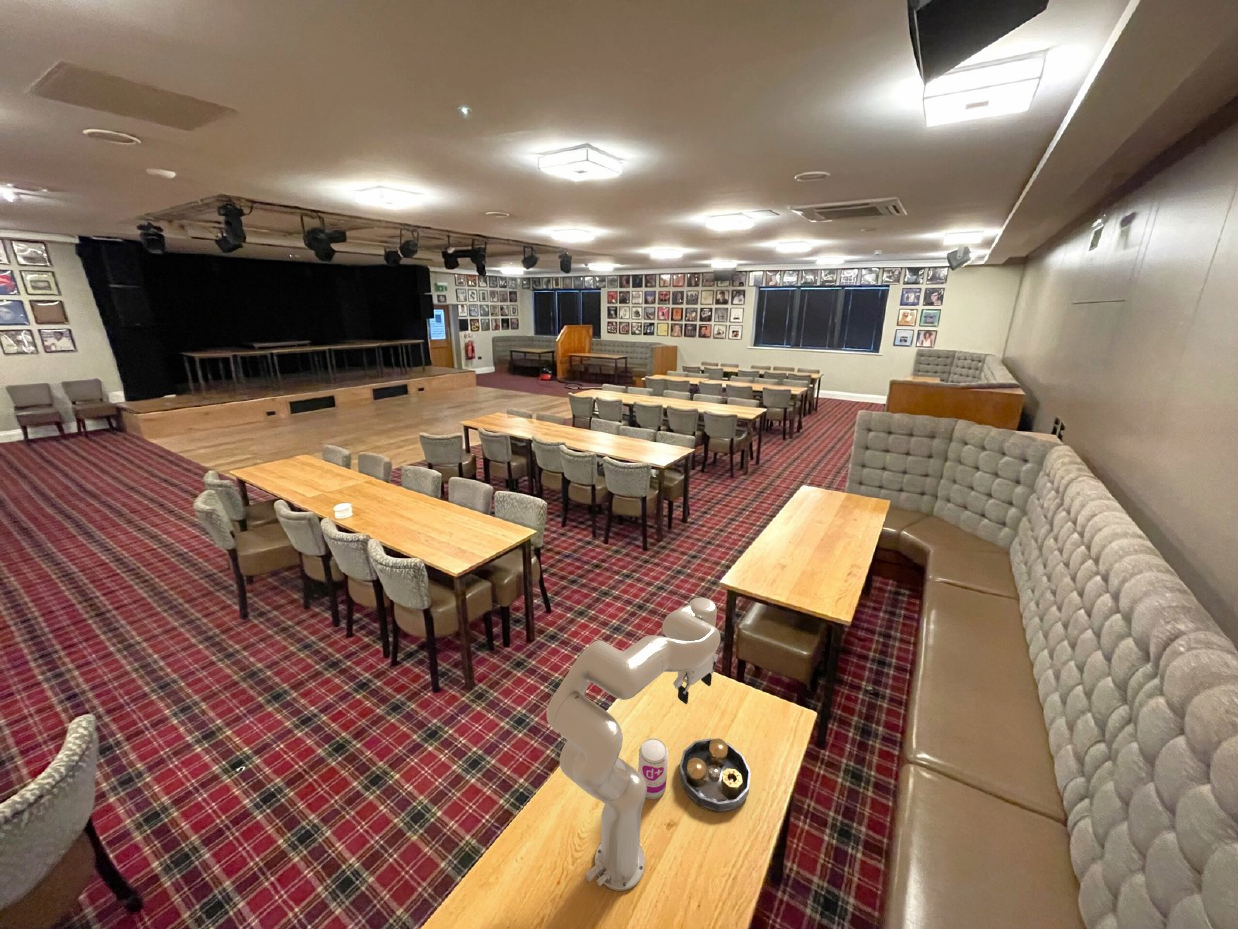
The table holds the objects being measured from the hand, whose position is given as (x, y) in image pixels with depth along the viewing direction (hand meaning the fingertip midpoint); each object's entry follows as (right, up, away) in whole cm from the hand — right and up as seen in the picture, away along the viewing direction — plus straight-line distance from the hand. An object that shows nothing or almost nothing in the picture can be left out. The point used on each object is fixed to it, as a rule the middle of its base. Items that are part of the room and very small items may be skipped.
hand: (694, 691), depth 137 cm
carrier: (+7, -29, +8) cm, 31 cm away
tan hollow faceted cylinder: (+11, -30, +4) cm, 32 cm away
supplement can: (-12, -30, +6) cm, 33 cm away
